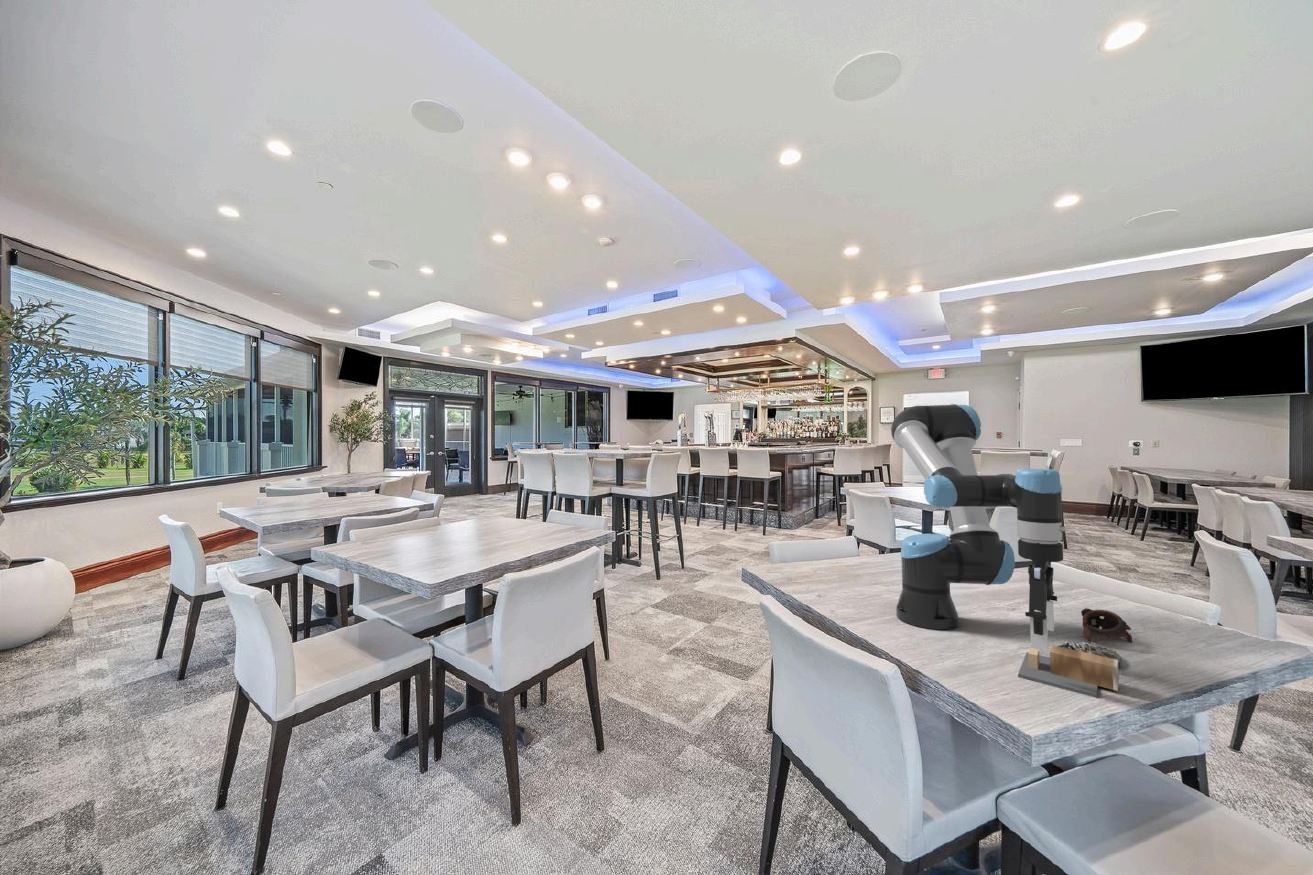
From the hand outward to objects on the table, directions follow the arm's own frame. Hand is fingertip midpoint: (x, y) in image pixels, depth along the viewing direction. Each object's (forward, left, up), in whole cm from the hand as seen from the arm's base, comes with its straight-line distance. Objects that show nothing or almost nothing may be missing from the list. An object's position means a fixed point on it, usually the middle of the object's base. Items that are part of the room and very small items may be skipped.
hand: (1043, 638), depth 100 cm
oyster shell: (+7, +15, -7) cm, 18 cm away
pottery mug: (+9, +30, -7) cm, 32 cm away
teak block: (+1, 0, -4) cm, 4 cm away
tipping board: (+2, 0, -7) cm, 7 cm away
